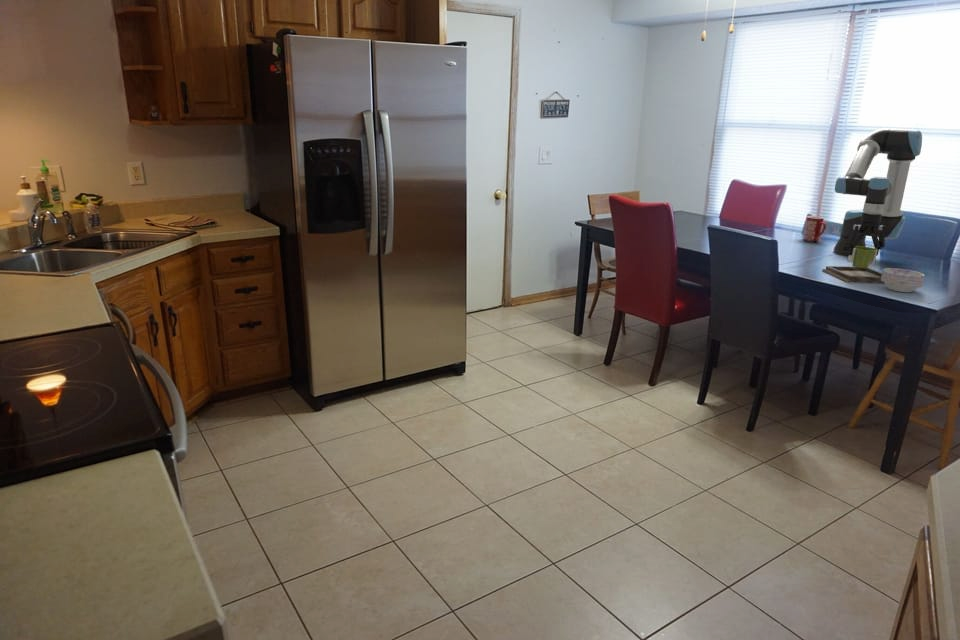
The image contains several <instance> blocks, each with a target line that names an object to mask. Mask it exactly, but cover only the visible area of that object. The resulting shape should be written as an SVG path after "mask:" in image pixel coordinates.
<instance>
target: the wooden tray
mask: <svg viewBox="0 0 960 640" xmlns="http://www.w3.org/2000/svg"><path fill="white" fill-rule="evenodd" d="M821 271H822V272H823V273H826V274H828V275H830V276H832V277H835V278H837V279H839V280H841V281H843V282H845V283H849V282H855V284H856V282H860V283H859V284H885V283H884V282H883V281H881V276H882V272H880V271H878V270H875V269H873V268H871V267H869V266H868V268H859V267H854V266H852V265H851V266H850V265H848V266H847V265H845V266H844V265H826V266H825V268H822V270H821Z"/></svg>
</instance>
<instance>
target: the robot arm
mask: <svg viewBox="0 0 960 640" xmlns="http://www.w3.org/2000/svg"><path fill="white" fill-rule="evenodd" d="M922 144H923V133H922V132H921V131H920V130H918V129H917V130H915V129H910V128H909V129H904V128H903V129H902V128H881V129H877V130H875V131H873V132H871V133H868V134H867V135H866V136H865V137H863V139H862V140H861V141H860V142H859V144H858V146H857V150H856V151H857V152H856V155H855V156H854V158H853V160H852V161H851V164H850V165H849V167H848V170H847V171H846V173H845V175H844V176H839V177H837V179H836V181H835V184H834V192H835V193H837V194H842V195H850V196H853V195H854V196H860V197H861V196H862V197H865V201H864V204H863V208H862V209H850V210H847V211H846V212H845V214H844V217H843V219H842V220H843V222H842V226H841V231H840V236H839V239H838V240H837V242H836V243H835V245H834V248H833V251H832V252H833V253H834V254H837V255H840V256H846V257H848V258H847V262H848V263H850V264H853V259H854V255H855V250H856V249H855V248H854V247H855V246H863V247H867V244H866V238H867V237H871V240H872V244H873V248H874V249H876V251H875V252H874V254H873V256H872V258H871V261H870V263H871V264H875V262H876V259H877V256H879V252H880V250H882V248H885V246H886V245H885V244H886V243H885V240H887V239H888V240H895V239H897V238H898V237H899V236H900V234H901V232H902V229H903V227H904V224H905V222H906V216H905V215H904V212H903V211H902V210H901V208H902V204H903V198H904V194H905V190H906V183H907V180H908V176H909V171H910V168H911V163H912V162H913V161H915V160H916V157H917V156H920V154H921V151H922ZM878 154H884V155H886V159H887V160H888V161H889V163H888V168H887V173H886V177H882V176H872V177H870V178H869V179H868V178H865V176H866V174H867V173H868V171H869V168H870V165H871V164H872V161H874V157H876V156H878ZM903 215H904V216H903ZM870 263H869V264H870Z"/></svg>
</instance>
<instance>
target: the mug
mask: <svg viewBox="0 0 960 640" xmlns="http://www.w3.org/2000/svg"><path fill="white" fill-rule="evenodd" d="M824 220H825V217H821V216H817V215H815V216H814V215H809V216H806V222H805V233H804V237H803V238H804V239H805V240H804V241H806V240H807V242H813V241H816V242H819V239H820V237H821V236H822V235H823V234H824V233H825V231H826V229H827V223H826V222H825V221H824Z"/></svg>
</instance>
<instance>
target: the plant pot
mask: <svg viewBox="0 0 960 640" xmlns="http://www.w3.org/2000/svg"><path fill="white" fill-rule="evenodd" d="M854 248H855V249H856V250H855V255H854V259H853V263H852V265H851V266H854V267H859V268H868V267H869V266H870V261H871V258H872V256H873V254H874V252H875V251H876V249H874V248H875V247H870V246H869V247H868V246H866V247H863V246H855V247H854Z"/></svg>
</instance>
